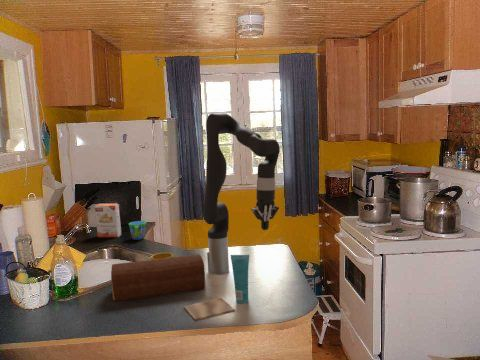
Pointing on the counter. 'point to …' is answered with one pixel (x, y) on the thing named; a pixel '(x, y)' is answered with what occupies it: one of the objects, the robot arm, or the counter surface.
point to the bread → (157, 277)
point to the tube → (240, 277)
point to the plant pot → (161, 256)
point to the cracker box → (108, 220)
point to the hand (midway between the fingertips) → (264, 229)
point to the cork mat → (208, 308)
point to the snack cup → (137, 229)
